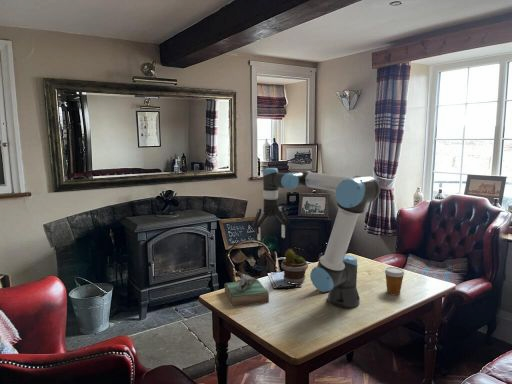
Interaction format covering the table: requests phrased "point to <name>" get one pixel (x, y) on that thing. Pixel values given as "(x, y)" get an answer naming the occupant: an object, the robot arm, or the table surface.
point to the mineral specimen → (245, 282)
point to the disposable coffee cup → (394, 280)
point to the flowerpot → (294, 268)
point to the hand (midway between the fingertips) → (271, 238)
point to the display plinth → (246, 294)
